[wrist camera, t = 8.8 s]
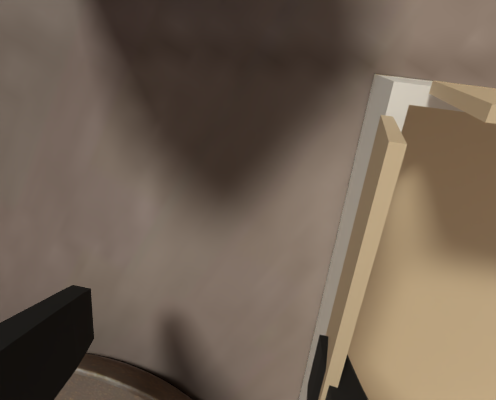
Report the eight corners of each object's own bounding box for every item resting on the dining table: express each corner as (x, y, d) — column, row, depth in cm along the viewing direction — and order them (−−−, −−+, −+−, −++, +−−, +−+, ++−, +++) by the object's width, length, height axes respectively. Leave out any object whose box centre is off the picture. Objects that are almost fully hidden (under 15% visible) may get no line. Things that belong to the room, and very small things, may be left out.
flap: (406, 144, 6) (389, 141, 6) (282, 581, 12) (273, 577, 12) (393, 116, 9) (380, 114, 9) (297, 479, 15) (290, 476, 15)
